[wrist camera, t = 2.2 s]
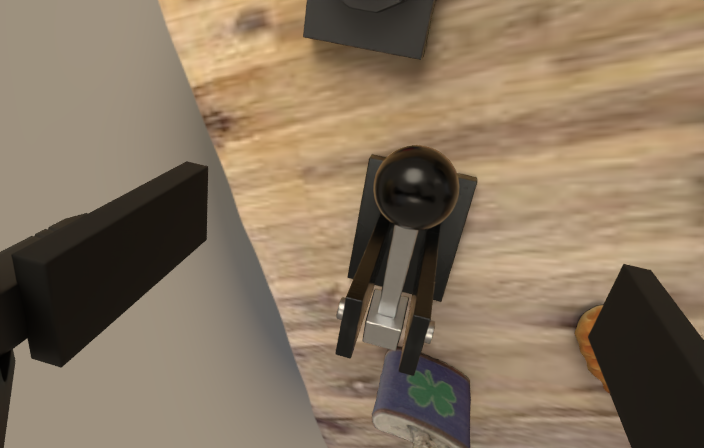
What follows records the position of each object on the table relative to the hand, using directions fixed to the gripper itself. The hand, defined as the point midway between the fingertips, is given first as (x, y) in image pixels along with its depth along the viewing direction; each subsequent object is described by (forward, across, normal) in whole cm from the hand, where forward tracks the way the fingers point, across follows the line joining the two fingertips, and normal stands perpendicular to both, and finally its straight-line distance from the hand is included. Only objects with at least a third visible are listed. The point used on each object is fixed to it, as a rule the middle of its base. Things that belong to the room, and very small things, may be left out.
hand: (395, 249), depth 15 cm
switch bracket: (+25, 0, -11) cm, 27 cm away
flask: (+25, +6, -26) cm, 36 cm away
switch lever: (+10, 0, -4) cm, 11 cm away
